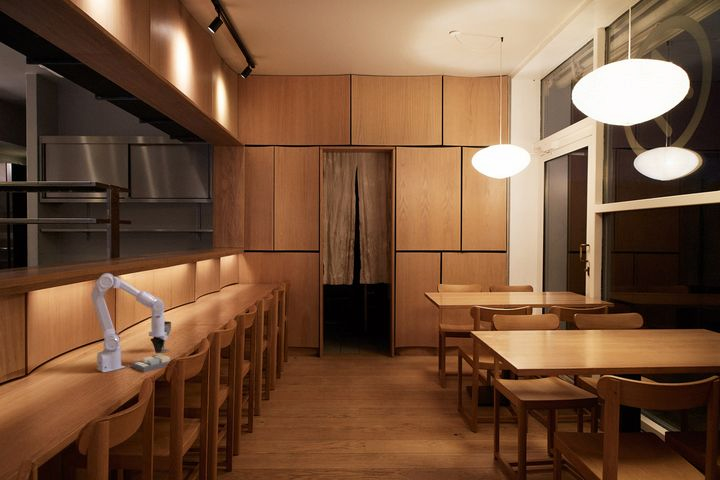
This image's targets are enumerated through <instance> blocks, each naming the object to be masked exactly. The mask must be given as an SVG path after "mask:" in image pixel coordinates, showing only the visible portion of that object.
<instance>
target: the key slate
mask: <svg viewBox="0 0 720 480" xmlns="http://www.w3.org/2000/svg"><path fill="white" fill-rule="evenodd" d="M147 364H148V365H155V364H159V359H156V358H154V359H150V360H147Z"/></svg>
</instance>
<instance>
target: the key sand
mask: <svg viewBox="0 0 720 480" xmlns="http://www.w3.org/2000/svg"><path fill="white" fill-rule="evenodd" d="M158 359H159V362H161V363H163V362H167V361H170V359H171V357H170V356H168V355H164V356H163V357H158Z"/></svg>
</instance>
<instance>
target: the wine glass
mask: <svg viewBox="0 0 720 480" xmlns="http://www.w3.org/2000/svg"><path fill="white" fill-rule="evenodd" d="M171 331H172V321H168V320H167V321H166V320H164V332H167V334H166V335H167V336H168V337H169V335H170V334H171ZM167 351H169V348H165V343H164V344H163V347H162V351H161V353H160V354H163V353H164V354H165V353H168V352H167ZM169 352H170V351H169Z"/></svg>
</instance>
